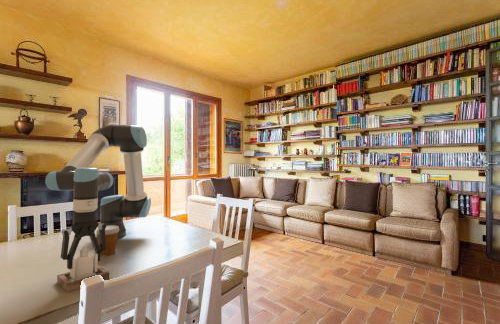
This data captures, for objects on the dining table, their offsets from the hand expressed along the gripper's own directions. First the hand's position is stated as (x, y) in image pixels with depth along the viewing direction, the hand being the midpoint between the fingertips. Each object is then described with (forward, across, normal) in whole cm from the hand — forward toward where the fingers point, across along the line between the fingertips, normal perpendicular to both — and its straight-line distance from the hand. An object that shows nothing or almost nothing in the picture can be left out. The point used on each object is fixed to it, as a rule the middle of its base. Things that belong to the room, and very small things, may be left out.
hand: (83, 273), depth 91 cm
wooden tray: (+2, 0, 0) cm, 2 cm away
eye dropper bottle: (+2, 0, 0) cm, 2 cm away
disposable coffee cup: (+3, +17, +22) cm, 28 cm away
